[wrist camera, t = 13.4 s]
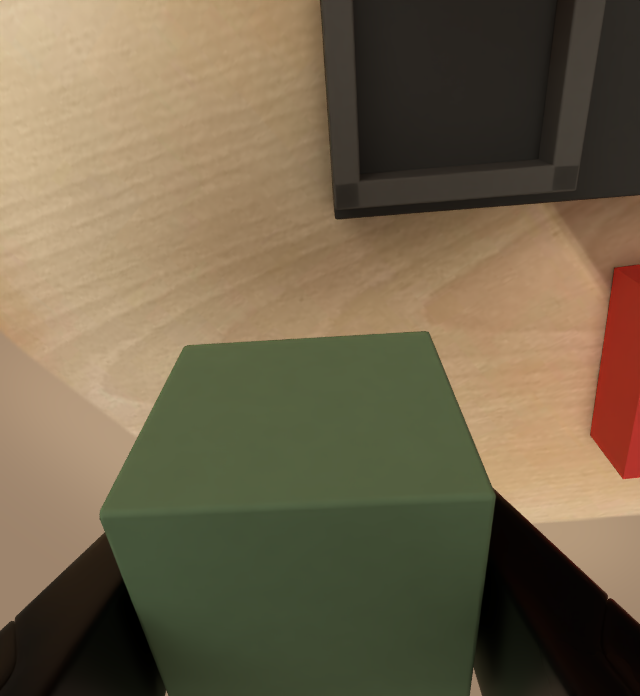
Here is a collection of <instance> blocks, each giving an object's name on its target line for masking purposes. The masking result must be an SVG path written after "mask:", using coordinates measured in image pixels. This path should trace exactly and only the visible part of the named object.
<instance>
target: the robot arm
mask: <svg viewBox="0 0 640 696" xmlns="http://www.w3.org/2000/svg"><path fill="white" fill-rule="evenodd" d="M493 490H494V493H495V495H496V499H495V506H494V514H493V522H492V529H491V537H490V544H489V552H488V560H487V567H486V575H485V582H484V590H483V598H482V605H481V613H480V620H479V628H478V636H477V643H476V651H475V658H474V666H473V667H474V670H475V674H476V677H477V680H478V684H479V687H480V690H481V693H482V696H640V624H639V623H638V622H637V621H636V620H635V619H633V618H632V617H631V616H630V615H629V614H628V613H627V612H626V611H625V610H624V609H623V608H622V607H621V606H619V605H618V604H617V603H616V602H615V601H614V600H613V599H611V598H610V599H608V595H607V594H606V593H605V592H604V591H603V590H602V589H601V588H600V587H599V586H598V585H597V584H596V583H595V582H593V581H592V580H591V579H590V578H589V577H588V576H587V575H586V574H585V573H584V572H583V571H582V570H581V569H580V568H578V567H577V566H576V565H575V564H574V563H573V562H572V561H571V560H570V559H569V558H568V557H567V556H566V555H564V554H563V553H562V552H561V551H560V550H559V549H558V548H557V547H556V546H555V545H554V544H553V543H551V541H549V540H548V539H547V538H546V537H545V536H544V535H543V534H542V533H541V532H540V531H539V530H538V529H537V528H535V527H534V526H533V525H532V524H531V523H530V522H529V521H528V520H527V519H526V518H525V517H524V516H523V515H521V514H520V513H519V512H518V511H517V510H516V509H515V508H514V507H513V506H512V505H511V504H510V503H509V502H508V501H506V500H505V499H504V498H503V497H502V496H501V495H500V494H499V493H498V492H497V491H496V490H495V489H494V488H493ZM607 599H608V600H607ZM165 693H166V688H165V685H164V683H163V680H162V678H161V675H160V672H159V670H158V667H157V665H156V662H155V660H154V657H153V654H152V652H151V649H150V647H149V644H148V642H147V639H146V636H145V634H144V631H143V629H142V626H141V624H140V621H139V618H138V616H137V613H136V611H135V608H134V605H133V603H132V600H131V598H130V595H129V593H128V590H127V587H126V585H125V582H124V580H123V577H122V575H121V572H120V569H119V567H118V564H117V562H116V559H115V557H114V554H113V551H112V549H111V546H110V544H109V541H108V538H107V536H106V533H104V534H103V535H102V536H101V537H99V538H98V539H97V540H96V541H95V542H94V543H93V544H92V545H91V546H90V547H89V548H88V549H87V550H86V551H85V552H84V553H82V554H81V555H80V556H79V557H78V558H77V559H76V560H75V561H74V562H73V563H72V564H71V565H70V566H69V567H68V568H67V569H66V570H65V571H63V572H62V573H61V574H60V575H59V576H58V577H57V578H56V579H55V580H54V581H53V582H52V583H51V584H50V585H49V586H48V587H47V588H46V589H44V590H43V591H42V592H41V593H40V594H39V595H38V596H37V597H36V598H35V599H34V600H33V601H32V602H31V603H30V604H28V606H26V607H25V608H24V609H23V610H22V611H21V612H20V613H19V614H18V615H17V616H16V617H15V622H14V621H11V622H9V623H8V624H7V625H6V626H5V627H4V628H3V629H2V630H1V631H0V696H165Z"/></svg>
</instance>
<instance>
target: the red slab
mask: <svg viewBox="0 0 640 696" xmlns="http://www.w3.org/2000/svg"><path fill="white" fill-rule="evenodd" d="M590 436H591V437H592V438H593V440H594V441H595V442H596V444H597V445H598V446H599V448H600V449H601V450H602V452H603V453H604V454H605V456H606V457H607V458H608V460H609V461H610V462H611V464H612V465H613V466H614V468H615V469H616V470H617V472H618V473H619V474H620V476H621V477H622V478H623V479H629V478H639V477H640V265H632V266H624V267H617V268H615V269H614V276H613V283H612V290H611V296H610V303H609V310H608V317H607V324H606V331H605V337H604V344H603V351H602V358H601V365H600V372H599V378H598V385H597V392H596V399H595V406H594V413H593V419H592V426H591V433H590Z"/></svg>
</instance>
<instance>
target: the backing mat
mask: <svg viewBox="0 0 640 696" xmlns="http://www.w3.org/2000/svg"><path fill="white" fill-rule="evenodd" d="M320 5H321V20H322V35H323V51H324V66H325V81H326V96H327V111H328V126H329V141H330V156H331V171H332V186H333V201H334V213H335V218H336V219H349V218H362V217H374V216H386V215H399V214H411V213H424V212H436V211H449V210H461V209H473V208H486V207H498V206H511V205H523V204H535V203H548V202H560V201H573V200H585V199H598V198H610V197H622V196H635V195H640V0H320Z"/></svg>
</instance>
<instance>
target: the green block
mask: <svg viewBox="0 0 640 696" xmlns="http://www.w3.org/2000/svg"><path fill="white" fill-rule="evenodd" d="M495 499H496V495H495V493H494V490H493V488H492V485H491V483H490V480H489V478H488V475H487V473H486V471H485V468H484V466H483V463H482V461H481V458H480V456H479V453H478V451H477V449H476V446H475V444H474V441H473V439H472V436H471V434H470V431H469V429H468V427H467V424H466V422H465V419H464V417H463V414H462V412H461V409H460V407H459V404H458V402H457V400H456V397H455V395H454V392H453V390H452V387H451V385H450V382H449V380H448V378H447V375H446V373H445V370H444V368H443V365H442V363H441V360H440V358H439V356H438V353H437V351H436V348H435V346H434V343H433V341H432V338H431V336H430V334H429V332H426V331H421V332H404V333H387V334H370V335H353V336H336V337H319V338H302V339H285V340H268V341H251V342H234V343H217V344H200V345H187V346H185V347H184V348H183V350H182V352H181V354H180V356H179V358H178V359H177V361H176V363H175V365H174V367H173V369H172V371H171V373H170V375H169V377H168V379H167V381H166V383H165V385H164V387H163V389H162V391H161V393H160V395H159V397H158V399H157V400H156V402H155V404H154V406H153V408H152V410H151V412H150V414H149V416H148V418H147V420H146V422H145V424H144V426H143V428H142V430H141V432H140V434H139V436H138V438H137V440H136V441H135V444H134V445H133V447H132V449H131V451H130V453H129V455H128V457H127V459H126V461H125V463H124V465H123V467H122V469H121V471H120V473H119V475H118V477H117V479H116V481H115V482H114V484H113V487H112V488H111V490H110V492H109V494H108V496H107V498H106V500H105V502H104V504H103V506H102V508H101V510H100V520H101V523H102V526H103V528H104V531H105V533H106V536H107V538H108V541H109V544H110V546H111V549H112V551H113V554H114V557H115V559H116V562H117V564H118V567H119V569H120V572H121V575H122V577H123V580H124V582H125V585H126V587H127V590H128V593H129V595H130V598H131V600H132V603H133V605H134V608H135V611H136V613H137V616H138V618H139V621H140V624H141V626H142V629H143V631H144V634H145V636H146V639H147V642H148V644H149V647H150V649H151V652H152V654H153V657H154V660H155V662H156V665H157V667H158V670H159V672H160V675H161V678H162V680H163V683H164V685H165V688H166V690H167V693H168V696H470V689H471V681H472V674H473V666H474V658H475V651H476V643H477V636H478V628H479V620H480V613H481V605H482V598H483V590H484V582H485V575H486V567H487V560H488V552H489V544H490V537H491V529H492V522H493V514H494V506H495Z"/></svg>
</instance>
